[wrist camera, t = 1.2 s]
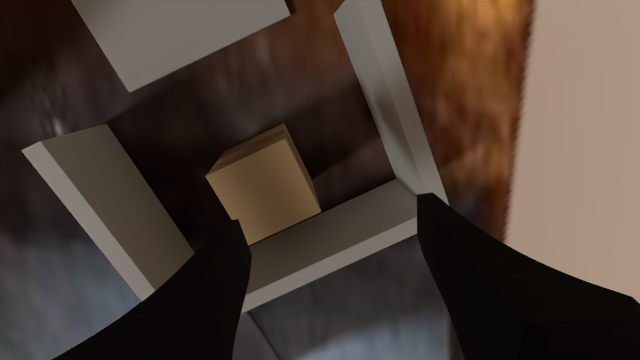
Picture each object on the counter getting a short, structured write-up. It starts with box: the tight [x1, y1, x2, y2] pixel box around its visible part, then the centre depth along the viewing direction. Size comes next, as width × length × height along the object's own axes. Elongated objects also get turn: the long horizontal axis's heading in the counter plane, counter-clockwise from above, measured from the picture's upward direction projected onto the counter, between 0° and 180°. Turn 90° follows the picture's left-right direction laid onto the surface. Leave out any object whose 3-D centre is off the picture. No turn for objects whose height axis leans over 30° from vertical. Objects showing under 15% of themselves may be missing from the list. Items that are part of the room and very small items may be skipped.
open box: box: [21, 0, 449, 314], centre depth 20 cm, size 18×13×6 cm
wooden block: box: [205, 123, 321, 246], centre depth 20 cm, size 4×4×6 cm
